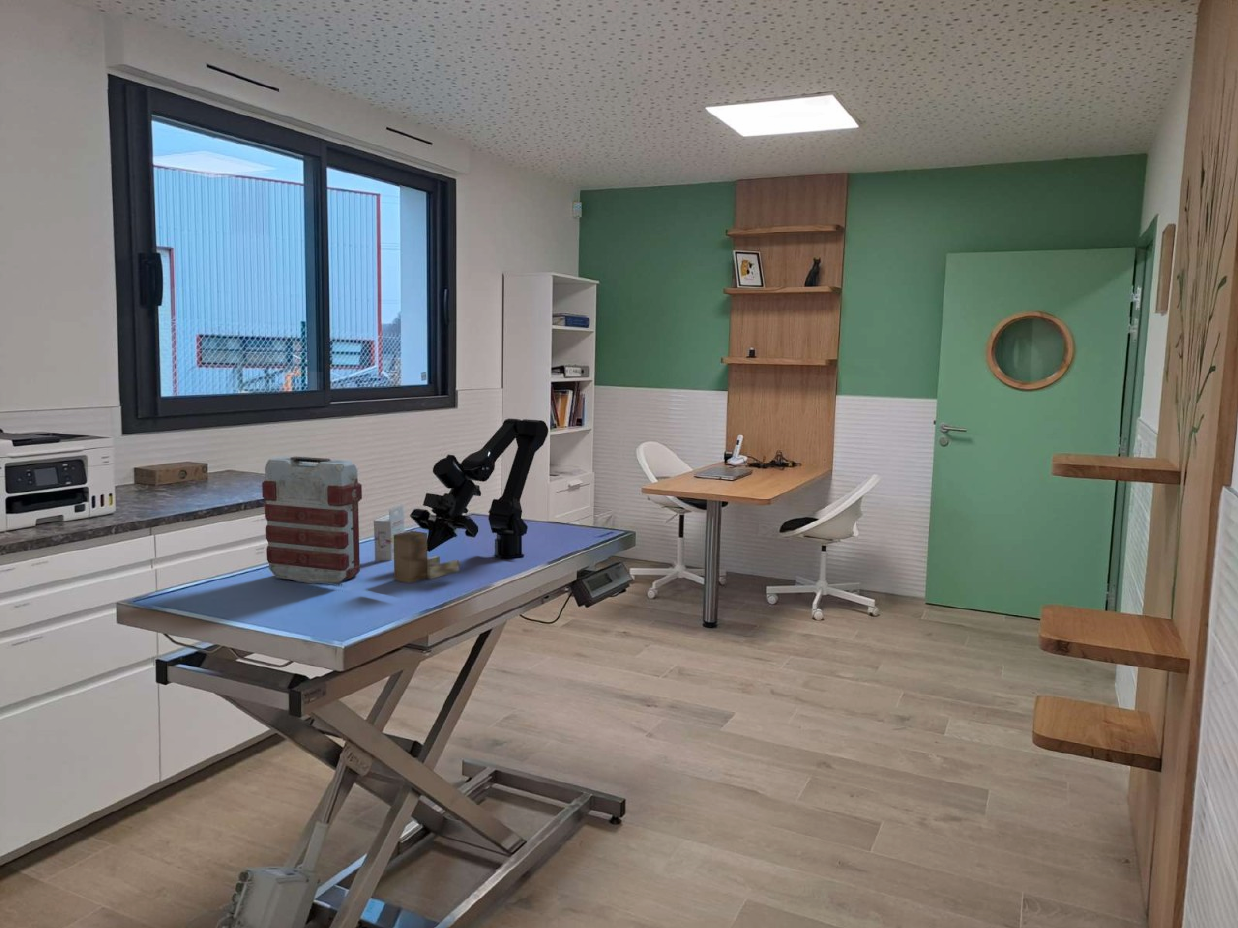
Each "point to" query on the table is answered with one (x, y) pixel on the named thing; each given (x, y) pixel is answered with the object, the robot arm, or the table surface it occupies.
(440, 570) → the chute
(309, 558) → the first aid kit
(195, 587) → the table surface
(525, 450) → the robot arm
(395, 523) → the ink cartridge box
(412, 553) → the block
